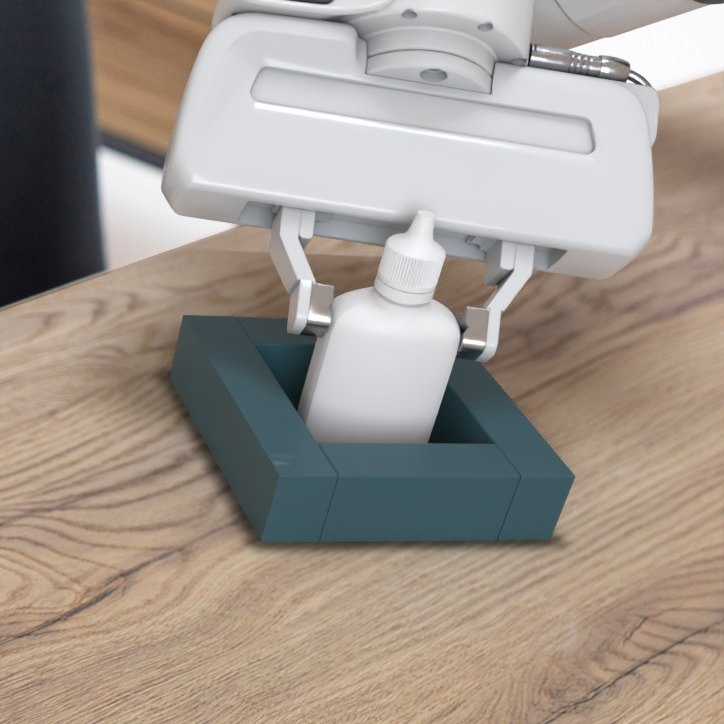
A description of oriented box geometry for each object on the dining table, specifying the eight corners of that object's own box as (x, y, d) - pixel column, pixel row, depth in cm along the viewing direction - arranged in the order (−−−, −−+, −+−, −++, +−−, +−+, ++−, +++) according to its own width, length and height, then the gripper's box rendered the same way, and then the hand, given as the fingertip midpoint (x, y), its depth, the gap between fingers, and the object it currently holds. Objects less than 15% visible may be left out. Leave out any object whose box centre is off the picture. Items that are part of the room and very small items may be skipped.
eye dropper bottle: (306, 428, 78) (377, 175, 71) (423, 473, 77) (508, 219, 69) (271, 469, 75) (342, 208, 67) (393, 516, 73) (479, 255, 66)
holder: (423, 397, 82) (448, 321, 80) (544, 557, 73) (576, 476, 70) (165, 394, 79) (182, 314, 76) (256, 560, 69) (279, 475, 67)
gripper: (631, 98, 77) (603, 401, 75) (176, 25, 75) (138, 331, 74) (696, 30, 70) (667, 358, 69) (200, -52, 69) (160, 281, 67)
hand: (389, 344), depth 71 cm, fingers closed on eye dropper bottle, 5 cm apart
